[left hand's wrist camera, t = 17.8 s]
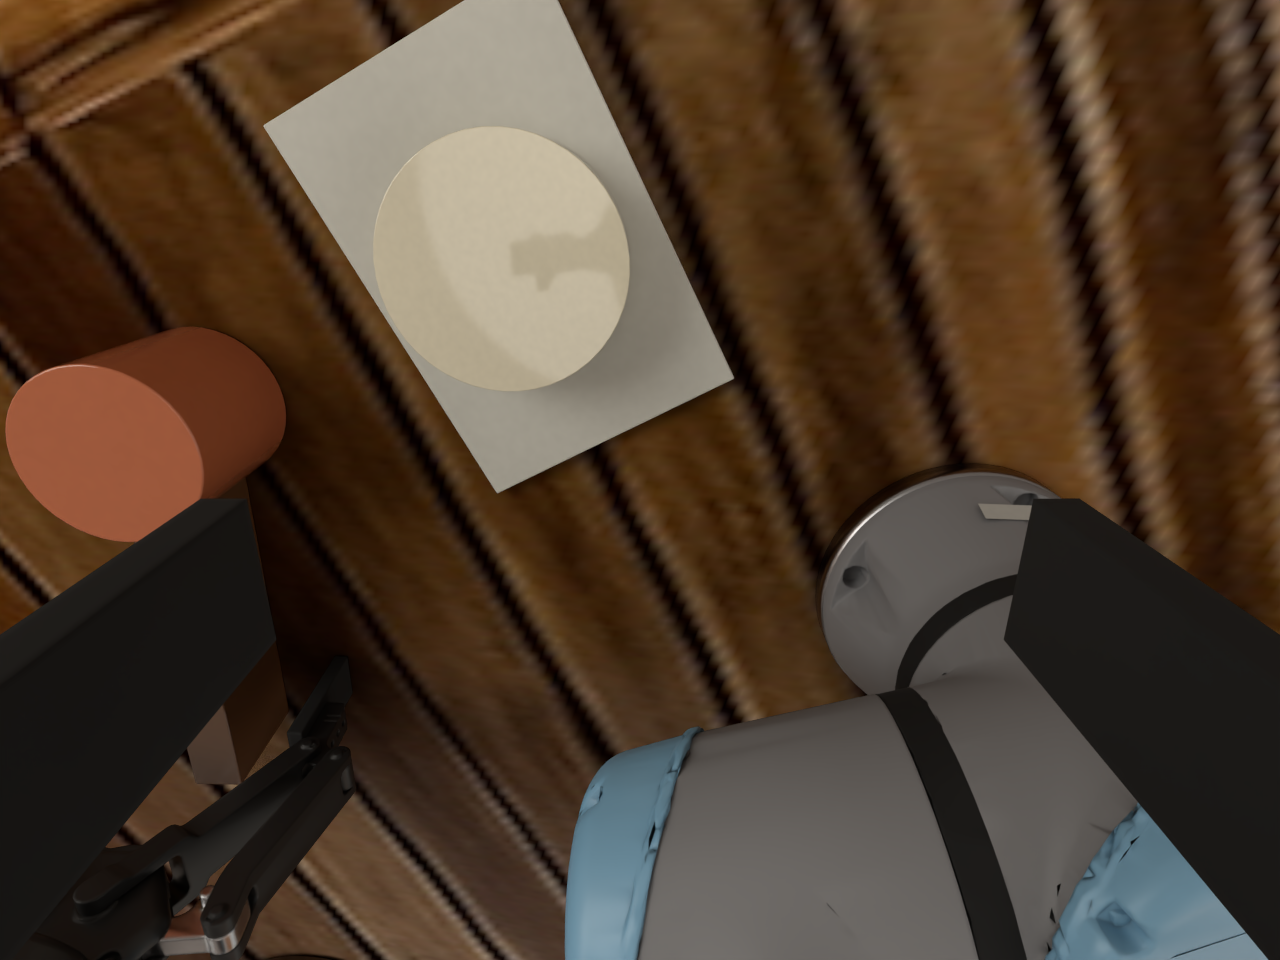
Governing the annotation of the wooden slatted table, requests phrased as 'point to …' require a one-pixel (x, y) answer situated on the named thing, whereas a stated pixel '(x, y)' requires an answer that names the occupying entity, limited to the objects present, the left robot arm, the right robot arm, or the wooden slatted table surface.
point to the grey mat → (558, 110)
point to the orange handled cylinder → (159, 474)
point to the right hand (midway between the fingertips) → (260, 672)
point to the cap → (502, 258)
